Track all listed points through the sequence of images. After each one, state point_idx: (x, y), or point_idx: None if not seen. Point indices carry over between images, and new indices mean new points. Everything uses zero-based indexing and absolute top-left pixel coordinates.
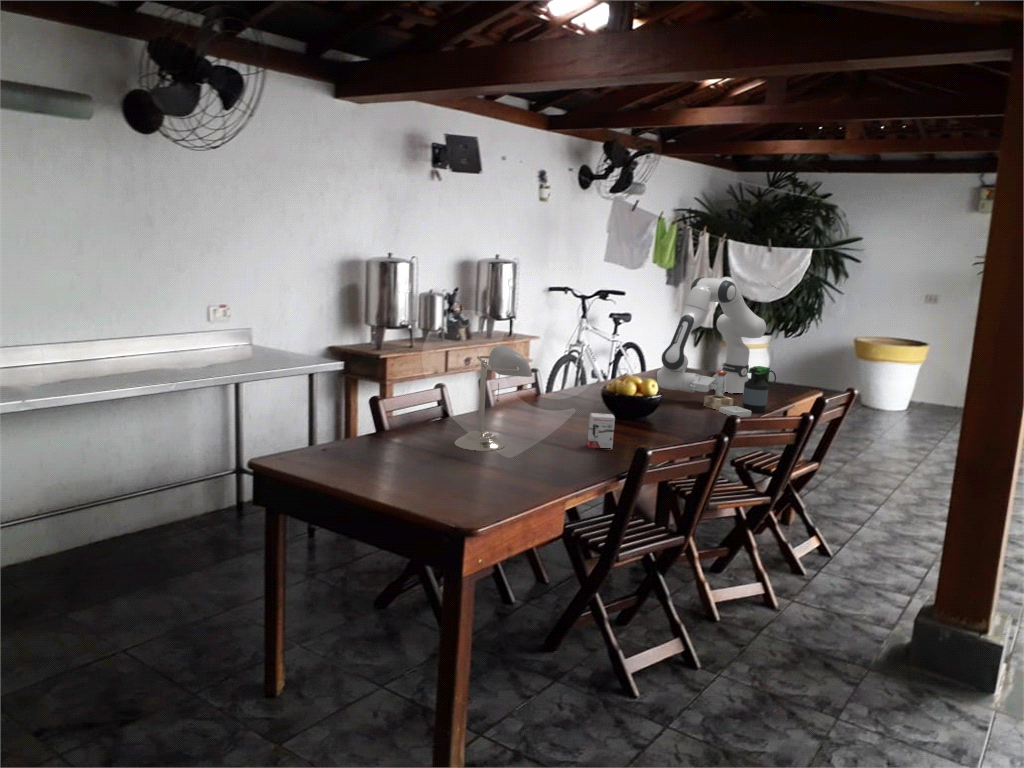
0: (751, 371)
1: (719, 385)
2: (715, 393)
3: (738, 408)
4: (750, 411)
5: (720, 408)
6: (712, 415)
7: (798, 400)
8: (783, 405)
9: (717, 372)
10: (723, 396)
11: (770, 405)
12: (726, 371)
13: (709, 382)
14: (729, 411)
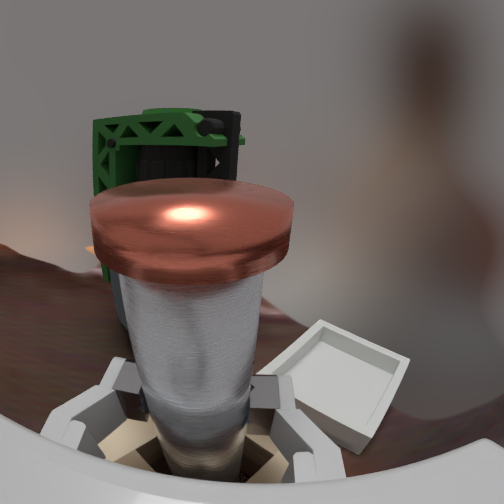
0: (221, 133)
1: (291, 384)
2: (218, 473)
3: (282, 367)
4: (324, 323)
5: (373, 434)
6: (445, 450)
7: (5, 245)
8: (55, 266)
9: (264, 251)
10: (150, 423)
11: (57, 287)
12: (188, 179)
13: (335, 492)
14: (398, 384)
